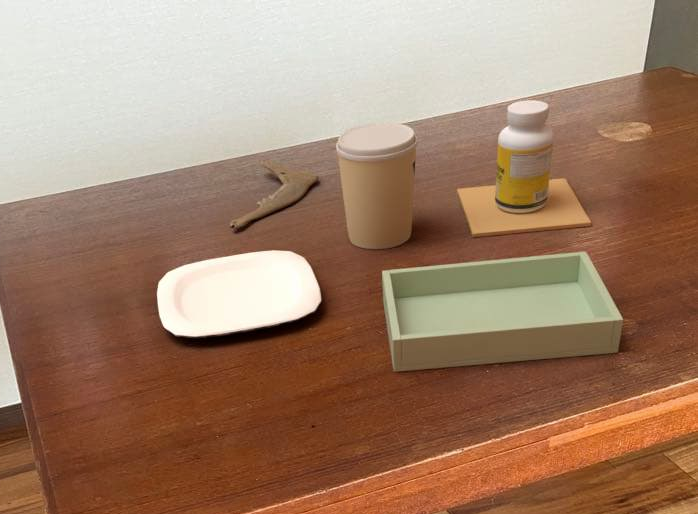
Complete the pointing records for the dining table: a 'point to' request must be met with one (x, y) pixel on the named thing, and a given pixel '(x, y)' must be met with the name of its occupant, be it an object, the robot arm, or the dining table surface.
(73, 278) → the dining table surface
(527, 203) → the pill bottle
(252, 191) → the dining table surface
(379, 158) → the coffee cup
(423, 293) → the tray
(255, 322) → the plate
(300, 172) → the jawbone
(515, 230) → the cork mat
